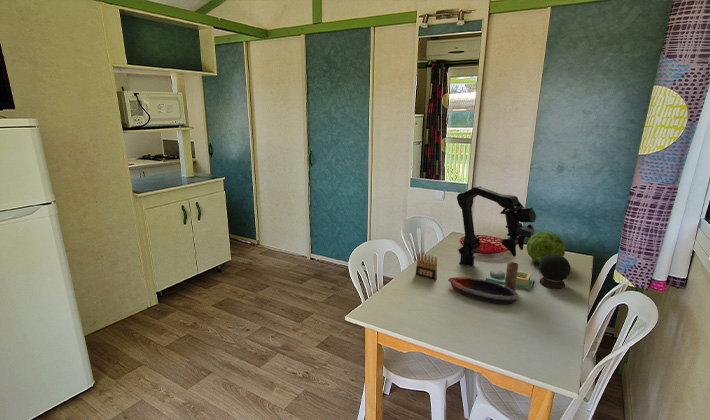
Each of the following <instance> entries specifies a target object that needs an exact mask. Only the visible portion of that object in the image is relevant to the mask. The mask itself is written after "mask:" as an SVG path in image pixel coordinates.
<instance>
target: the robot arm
mask: <svg viewBox="0 0 710 420" xmlns="http://www.w3.org/2000/svg"><path fill="white" fill-rule="evenodd" d="M478 196H479V197H481V198H484V199H487V200H489V201H493V202H495V203H497V204H498V205H499V206H500V207H501V208H503V209H502V211H500V213H499V214H501V215H504V217H505V222H506V225H505V228H506V229H507V233H506V236H505V237H504V238H502V239H503V240H502V243H501V244H502V245H501V246H506V247H507V249H508V252H510V254H511V255H512V256H513V257H516V256H517V246H518V247H519V250H521V251H523V250H524V244H525V238H529V239H530V237H531V236H533V235H534V232H535V231H536V229H535V228H534V225H533V224H530V223H535V222H536V219H537V214H536V213H535V210H534V208H533V207H532V206H531V207H524V205H523V204H522V203H521V201H519V198H518V196H515V195H511V194H502V193H498V192H496V191H493V190H490V189H487V188H484V187H483V186H481V185H479V186H473V187H472V188H471V189H468V190H466V191H463V192H459V193H458V194H457V195H456V201H457V205H458V207H459V208H460V209H461V214H462V221H463V223H462V224H463V228H464V236H465V238H463V239H464V241H463V242H462V243H463V245H462V246H461V247H460V248H459V249H458V254H460V259H459V263H458V264H459V265H463V266H466V267H472V266H473V265H474V264H475V258H476V257H475V253H476V252H477V250H478V249H479V245H480V241H479V238H478V237H476V236H475V235H476V233H475V227H474V218H473V211H472V206H473V204H474V198H476V197H478ZM523 223H529V224H528V225H525V226H524V225H523Z"/></svg>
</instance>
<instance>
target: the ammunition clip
mask: <svg viewBox="0 0 710 420" xmlns="http://www.w3.org/2000/svg"><path fill="white" fill-rule="evenodd" d="M430 256H431V257H430ZM437 258H438V257H437V256H434V255H430V254H428V256H427V254H426V253H425V254H424V253H420V252H418V254H417V260H416V268H415V276H419V277H422V278H426V279H429V280H433V281H436V280H437V279H438V276H437V275H438V269H437V268H438V267H437V266H438V263H437V262H438V259H437Z"/></svg>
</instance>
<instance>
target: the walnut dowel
mask: <svg viewBox="0 0 710 420" xmlns="http://www.w3.org/2000/svg"><path fill="white" fill-rule="evenodd" d="M517 271H519V264H518V262H514V261H509V262H507V264H506V272H505V273H506V279H505V284H504V286H506V287H508V288H510V289H512V290H514V291H515V292H516V288H517V287H516V279H517Z"/></svg>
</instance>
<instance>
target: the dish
mask: <svg viewBox="0 0 710 420" xmlns="http://www.w3.org/2000/svg"><path fill="white" fill-rule="evenodd" d="M447 281H448V282H449V283H450V285H451V287H452V288H453V290H455V291H457V292H458V293H460V294H461V295H464V296H467V297H469V298H471V299H476V300H479V301H482V302H488V303H494V304H500V305H501V304H504V305H507V304H512V303H515V302H516V301H517V300H518V299H519V293H517V292H516V290H515V291H514V290H512V289H510V288H508V287H506V286H505V285H504V284H502V283H497V282H493V281H489V280H486V279H482V278H476V277H469V276H467V277H466V276H464V277H463V276H459V277H458V276H457V277H449V278H448V280H447Z"/></svg>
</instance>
